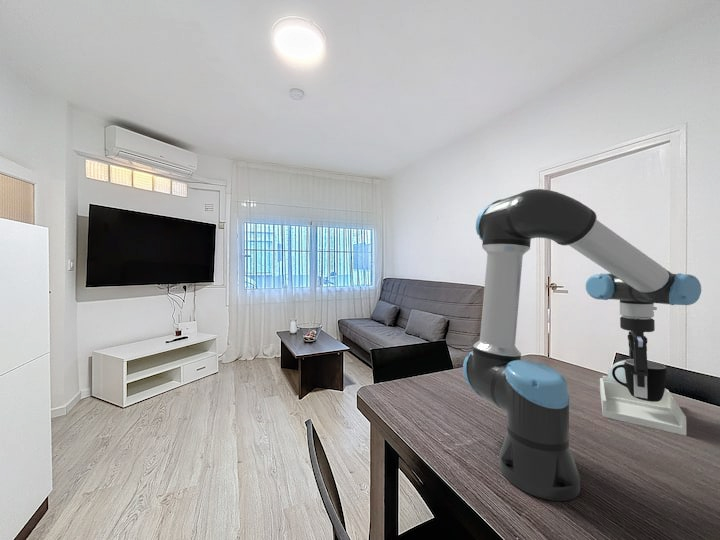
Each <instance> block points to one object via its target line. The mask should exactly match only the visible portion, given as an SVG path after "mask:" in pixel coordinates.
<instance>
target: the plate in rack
mask: <svg viewBox="0 0 720 540" xmlns="http://www.w3.org/2000/svg"><path fill="white" fill-rule="evenodd" d="M625 360H626V359H623V360H619V361H617V362H615V363H613V364H612V365H611V366H610V367H609V368H608V369H609V370H608V372H607V376H608V380H609V382H614V383H618V382H617V381H616V380H615V379H614V378H613V375H612V370H613V368H614V367H615V366H618V365H623V364H624V361H625ZM615 376H616V377H617V379H618V380H619V381H621V382H623V383H627V382H626V376H625V369H624V368H623V367H620V368H617V369H616V371H615Z"/></svg>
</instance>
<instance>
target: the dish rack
mask: <svg viewBox="0 0 720 540" xmlns="http://www.w3.org/2000/svg"><path fill="white" fill-rule="evenodd" d="M599 393H600V402H601V409H602V410H601V411H602V417H603V418H607V419H611V420H616V421H620V422H623V423H624V422H625V423H628V424H632V425H637V426H641V427H646V428H650V429H651V428H652V429H655V430H659V431H663V432H667V433H668V432H669V433H672V434H677V435H682V436H685V437H686V436H687V416H686V414H685V413H684V412H683V410H682V408H681V407H680V406H679V404H678V402H677V400H675V399H674V397H673V395H672V394H671V392H670V391H669V389H667V388H665V390H664V394H663V397H662V399H661V400H660V401H658V402H651V401H645V400H641V399H638V398H635V397H634V396H632V395H631V394H630V392H629V390H628V388H627V387H625V386H623V385H621V384H619V383H614V382H609V380H608V375H602V377H600V378H599Z"/></svg>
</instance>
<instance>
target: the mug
mask: <svg viewBox="0 0 720 540" xmlns="http://www.w3.org/2000/svg"><path fill="white" fill-rule="evenodd" d="M624 360H625V361H624V364H623V365H618V366H615V367H614V368H613V370H612V375H613V378H614V379H615V380H616V381H617V382H618V383H619V384H621V385H623V386H625V387H627V388H628V390H629V392H630V394H631V395H632V396H634V374H631V372H634V371H635V370H634V359H629V358H628V359H624ZM647 366H648V376H647V399H646V398H641V397H635V396H634V397H635V398H638V399H641V400H645V401H651V402H658V401H660V400H661V399H662V397H663V394H664V390H665V389H666V383H667V382H666V381H667V366H666V365H664V364H662V363H661V362H656V361H652V360H647ZM620 367H623V368H624V369H625V376H626V382H627V383H623V382H621V381H619V380H618V379H617V377H616V376H615V371H616V369H617V368H620ZM640 371H643V370H640Z"/></svg>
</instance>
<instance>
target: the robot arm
mask: <svg viewBox="0 0 720 540" xmlns="http://www.w3.org/2000/svg"><path fill="white" fill-rule="evenodd" d="M597 216H598V215H597V213H596V212H595V211H594V210H593V209H591V208H590V207H589V206H587V205H585V203H583V202H581V201H579V200H577V199H575V198H573V197H570V196H568V195H566V194H564V193H561V192H557V191H554V190H550V189H543V188H541V189H540V188H538V189H537V188H534V189H529V190H524V191H522V192H520V193H517V194H515V195H511V196H509V197H506V198H503V199H497V200H496V201H495V200H494V201H493V202H491V203H490V204H488V205H485V207H484V208H483V209H481V211H480V212H479V213H478V215H477V217H476V221H475V232H476V234H477V235H478V238H479V239H480V240H481V241H482V246H481V247H482V249H483V250H484V251H485V252H486V254H487V255H486V268H485V279H484V287H483V299H482V312H481V322H480V334H479V340H478V341H476V342H475V343H474V344H473V345H472V346H473V347H472V351H470V352H469V353H468V355H467V356H465V359H464V360H463V363H462V374H463V378H464V380H465V382H466V384H467V385H468V386H469V387H470V388H471V389H472V390H473V391H474V392H475V393H476V394H477V395H479V396H480V397H481V398H485V399H486V400H487V401H488V402H490V403H491V404H493V405H495V406H496V407H498V408H499V409H501V410H503V411H504V412H505V413H506V434H505V437H504V440H503V442H502V445H501V448H500V451H499V454H498V459H499V460H498V464H499V470H500V471H501V474H502V475H503V476H504V477H505V479H507V480H508V481H509V483H511V484H512V485H513V486H515V487H517V488H518V489H519V490H522V491H523V492H525V493H527V494H529V495H532V496H534V497H537V498H540V499H543V500H548V501H551V502H552V501H554V502H566V501H567V502H568V501H572V500H573V499H576V498H577V497H578V496H579V495H580V492H581V475H580V472H579V470H578V468H577V464H576V462H575V459H574V457H573V454H572V452H571V449H570V395H569V394H570V393H569V389H568V383H567V380H566V378H565V376H564V375H563V374H562V373H561V372H559V371H558V370H556V369H555V368H553V367H552V366H551V367H550V366H549V365H546V364H543V363H541V362H534V361H531V360H527V359H522V353H521V352H520V350H519V349H518V348H517V347H516V337H517V327H518V315H519V303H520V292H521V281H522V270H523V269H522V267H523V257H524V255H525V254H526V253H528V251H530V250H531V241H532V239H535V238H536V239H537V238H538V239H539V238H540V239H547V240H550V241H553V242H555V243H556V244H558V245H559V246H562V247H563V246H564V247H565V246H569V247H570V248H572V249H574V250H575V251H577V252H578V253H580V254H581V255H583V256H585V258H587V259H589V260H590V261H591V262H593V263H594V264H596V265H598V266H600V267H601V268H602V269H603V270H605V271H606V272H608V273H599V274H598V273H597V274H593V275H591V276H590V277H588V278H587V280H586V282H585V291H586V293H587V294H588V295H589V296H590V297H591V298H593V299H595V300H601V301H603V300H604V301H608V300H616V301H617V300H619V315H620V316H621V317H619V324H620V328H621V330H625V331H628V334H627V340H628V353H629V354H628V359H634V370H635V371H634V372H631V374H634V396H635V397H641V398H646V399H647V376H648V366H647V361H648V354H647V353H648V352H647V351H648V345H647V344H648V337H646V335H644V333H653V332H655V325H656V324H655V320H654V318H653V317H655V311H657V310H658V307H656V306H655V305H654V304H662V305H669V306H691V305H693V304H696V303H697V302H698V301H699V299H700V297H701V294H702V285H701V282H700V280H699V278H697V277H696V276H695V275H693V274H687V273H672V272H670V271H669V270H668V269H667V268H666V267H663V266H662V265H661V264H660V263H658V262H657V261H656V260H654V259H652V258H651V257H649V256H648V255H647V254H645V253H644V252H643V251H641V250H640V249H638V248H637V247H636V246H634V245H633V244H631V243H630V242H628V241H627V240H626V239H624V238H623V237H621V236H620V235H619V234H617V233H616V232H614V231H613V230H612V229H611V228H609V227H608V226H606V225H605V224H603V223H601V221H599V220H597V219H598V217H597ZM640 370H643V371H640Z"/></svg>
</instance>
